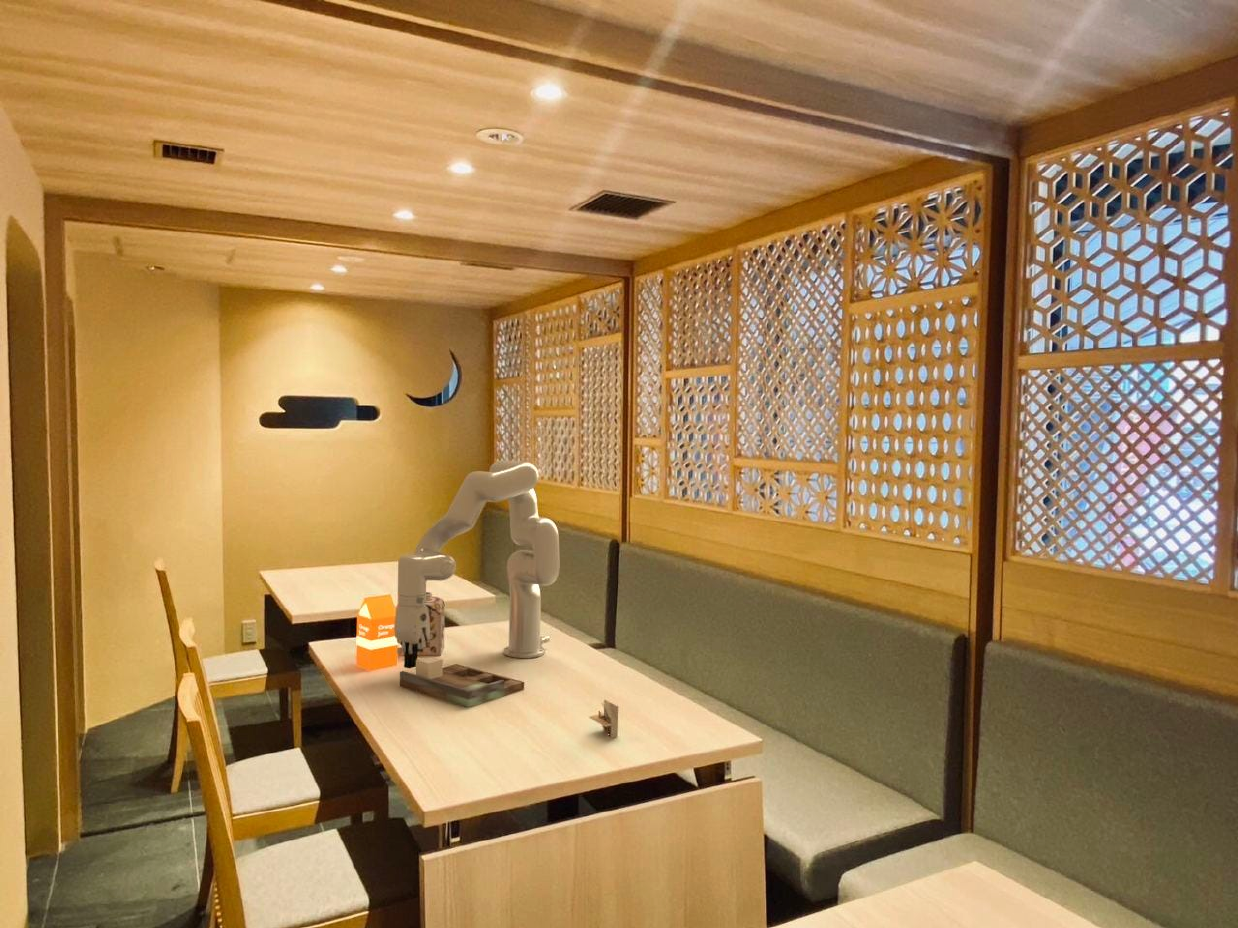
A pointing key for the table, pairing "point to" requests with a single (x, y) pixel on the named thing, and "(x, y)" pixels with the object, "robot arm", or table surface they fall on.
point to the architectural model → (608, 718)
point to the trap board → (462, 685)
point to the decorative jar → (434, 627)
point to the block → (429, 667)
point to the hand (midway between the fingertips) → (410, 666)
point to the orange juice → (376, 633)
